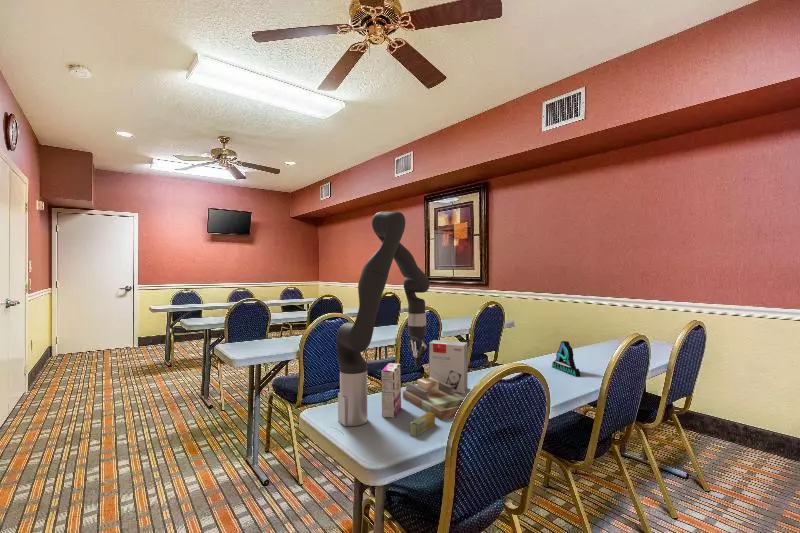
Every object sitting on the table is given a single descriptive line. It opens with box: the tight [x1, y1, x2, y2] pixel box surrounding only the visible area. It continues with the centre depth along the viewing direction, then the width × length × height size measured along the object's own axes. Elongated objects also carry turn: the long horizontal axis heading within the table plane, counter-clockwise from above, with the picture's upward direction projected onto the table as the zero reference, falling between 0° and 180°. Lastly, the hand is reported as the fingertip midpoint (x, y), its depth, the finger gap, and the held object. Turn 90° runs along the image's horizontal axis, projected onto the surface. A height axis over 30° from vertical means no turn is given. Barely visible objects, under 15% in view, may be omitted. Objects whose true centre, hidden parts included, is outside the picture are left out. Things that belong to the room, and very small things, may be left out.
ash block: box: [416, 377, 439, 394], centre depth 158 cm, size 6×6×4 cm
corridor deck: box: [402, 378, 466, 421], centre depth 152 cm, size 16×26×6 cm, turn 29°
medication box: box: [409, 412, 436, 437], centre depth 129 cm, size 12×3×4 cm, turn 147°
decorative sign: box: [551, 340, 582, 378], centre depth 197 cm, size 19×2×15 cm, turn 14°
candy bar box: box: [380, 362, 402, 419], centre depth 144 cm, size 11×5×16 cm, turn 168°
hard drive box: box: [428, 339, 469, 394], centre depth 171 cm, size 16×8×20 cm, turn 68°
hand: (417, 366), depth 165 cm, fingers closed
